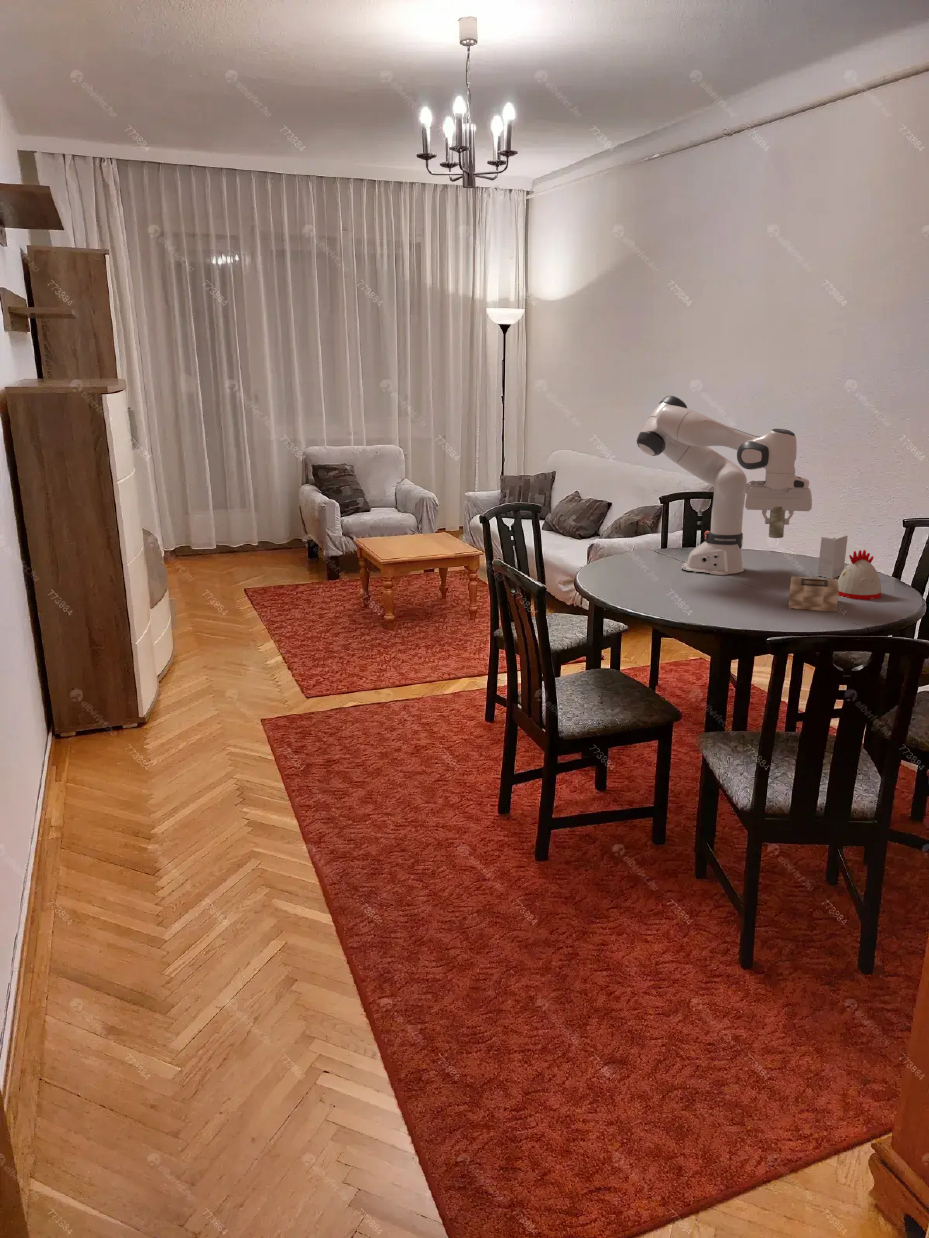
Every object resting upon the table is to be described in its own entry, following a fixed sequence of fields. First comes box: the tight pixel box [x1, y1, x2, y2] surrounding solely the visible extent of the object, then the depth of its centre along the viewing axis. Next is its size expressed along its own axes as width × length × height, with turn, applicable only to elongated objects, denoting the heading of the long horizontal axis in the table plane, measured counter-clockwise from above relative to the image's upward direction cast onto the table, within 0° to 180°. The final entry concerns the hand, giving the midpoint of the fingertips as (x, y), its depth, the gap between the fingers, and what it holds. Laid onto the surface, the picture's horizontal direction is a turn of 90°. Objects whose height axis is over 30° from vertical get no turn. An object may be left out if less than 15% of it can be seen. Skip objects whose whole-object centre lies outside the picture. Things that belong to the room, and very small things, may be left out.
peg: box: [768, 507, 786, 539], centre depth 279 cm, size 4×4×10 cm
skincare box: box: [817, 532, 848, 579], centre depth 309 cm, size 8×6×15 cm
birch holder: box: [787, 576, 839, 613], centre depth 276 cm, size 14×14×7 cm
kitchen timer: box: [838, 549, 882, 601], centre depth 285 cm, size 14×14×15 cm
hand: (776, 524), depth 280 cm, fingers closed on peg, 4 cm apart
